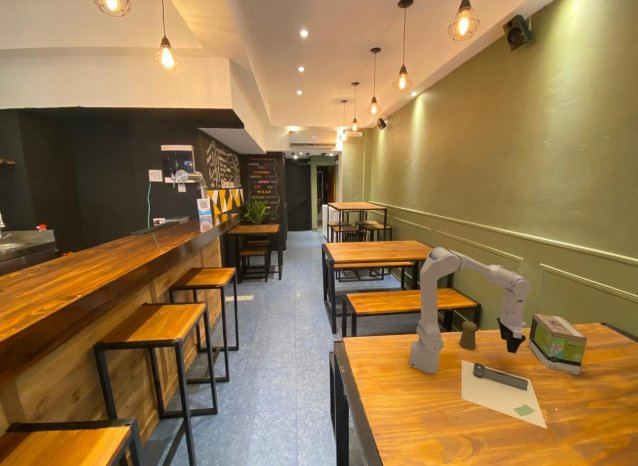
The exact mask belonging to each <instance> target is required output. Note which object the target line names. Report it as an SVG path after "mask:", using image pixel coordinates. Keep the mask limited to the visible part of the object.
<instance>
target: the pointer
mask: <svg viewBox="0 0 638 466" xmlns="http://www.w3.org/2000/svg"><path fill="white" fill-rule="evenodd" d="M484 366H485V365H484V364H481V363H479V362H475V363H474V369H473V374H474V375H475V376H476V377H479V378H483V377H485V378H488V379H491V380H494V381H498V382H501V383H504V384H507V385H511V386H514V387H517V388H520V389H524V390H527V386H528V381H527V380H525V379H521V378H518V377H515V376H511V375H508V374H504V373H501V372H497V371H494V370H491V369H492V368H491V369H487V368H485V367H486V366H485V367H484Z"/></svg>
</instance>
